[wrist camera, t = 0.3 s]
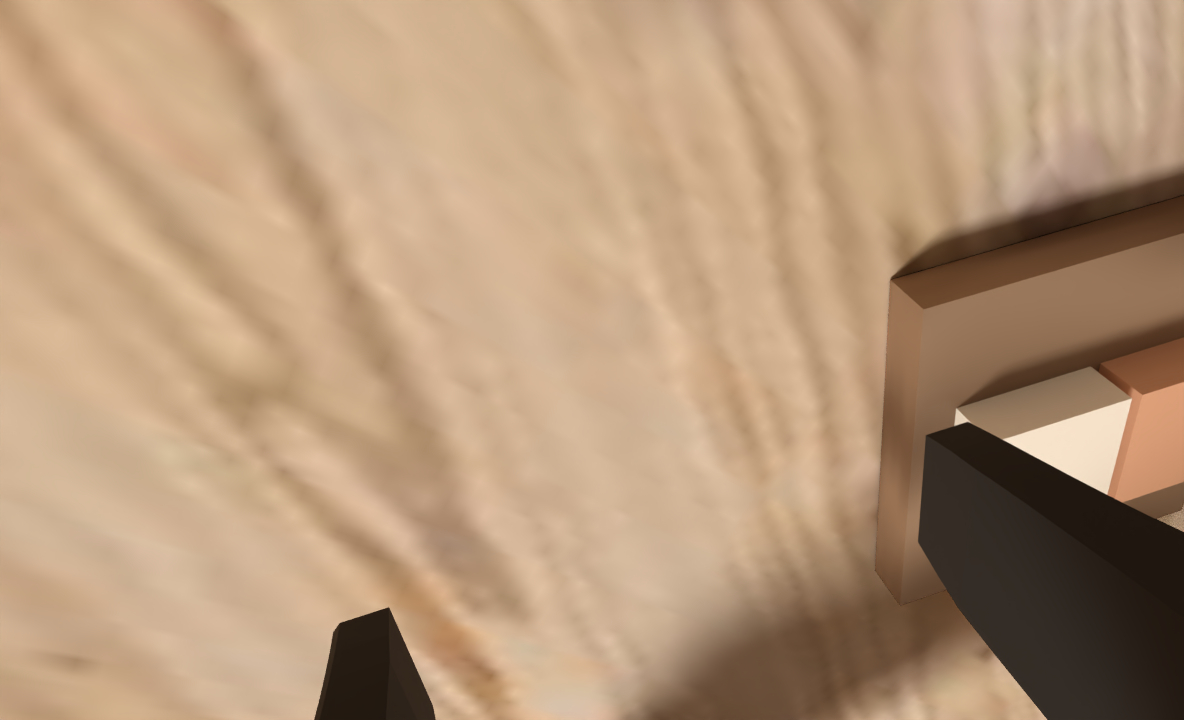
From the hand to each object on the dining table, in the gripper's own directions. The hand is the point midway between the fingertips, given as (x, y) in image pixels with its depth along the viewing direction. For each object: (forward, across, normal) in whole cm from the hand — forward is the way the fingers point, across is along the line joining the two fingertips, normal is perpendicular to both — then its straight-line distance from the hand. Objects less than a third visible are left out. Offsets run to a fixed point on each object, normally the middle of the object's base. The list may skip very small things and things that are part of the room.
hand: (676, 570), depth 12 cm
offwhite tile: (+8, -12, +9) cm, 17 cm away
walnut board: (+10, -14, +9) cm, 19 cm away
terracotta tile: (+8, -16, +9) cm, 20 cm away
